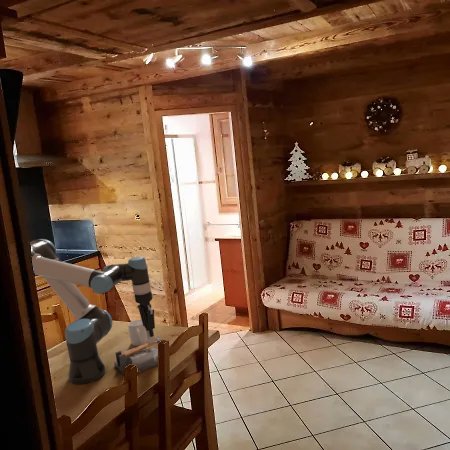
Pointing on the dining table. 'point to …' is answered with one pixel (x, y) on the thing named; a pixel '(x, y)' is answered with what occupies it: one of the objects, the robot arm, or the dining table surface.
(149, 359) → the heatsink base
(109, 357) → the dining table surface
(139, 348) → the brown wooden strip
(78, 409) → the dining table surface
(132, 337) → the mug
